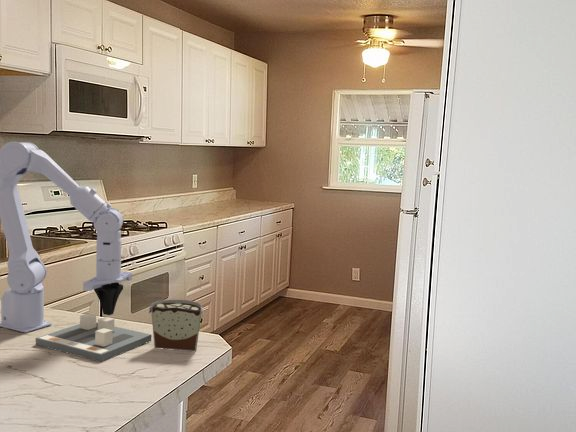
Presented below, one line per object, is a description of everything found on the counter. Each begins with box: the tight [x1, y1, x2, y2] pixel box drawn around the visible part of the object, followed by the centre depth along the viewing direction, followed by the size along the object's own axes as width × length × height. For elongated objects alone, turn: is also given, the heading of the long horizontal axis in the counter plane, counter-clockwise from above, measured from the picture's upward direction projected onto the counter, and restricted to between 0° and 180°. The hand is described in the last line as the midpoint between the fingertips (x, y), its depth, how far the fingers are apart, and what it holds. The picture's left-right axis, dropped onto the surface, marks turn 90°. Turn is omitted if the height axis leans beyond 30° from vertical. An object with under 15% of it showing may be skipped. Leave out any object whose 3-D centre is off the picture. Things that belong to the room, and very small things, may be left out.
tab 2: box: [97, 316, 115, 332], centre depth 136 cm, size 2×2×3 cm
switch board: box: [35, 321, 153, 363], centre depth 133 cm, size 19×16×2 cm
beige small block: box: [79, 312, 97, 330], centre depth 138 cm, size 2×2×3 cm
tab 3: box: [95, 328, 113, 347], centre depth 128 cm, size 2×2×3 cm
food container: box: [148, 299, 205, 353], centre depth 134 cm, size 12×6×10 cm, turn 84°
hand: (108, 314), depth 144 cm, fingers closed
